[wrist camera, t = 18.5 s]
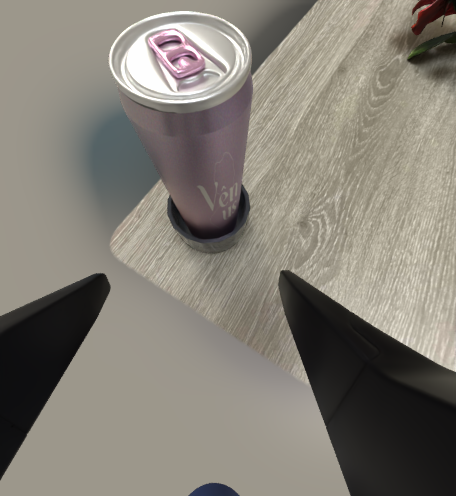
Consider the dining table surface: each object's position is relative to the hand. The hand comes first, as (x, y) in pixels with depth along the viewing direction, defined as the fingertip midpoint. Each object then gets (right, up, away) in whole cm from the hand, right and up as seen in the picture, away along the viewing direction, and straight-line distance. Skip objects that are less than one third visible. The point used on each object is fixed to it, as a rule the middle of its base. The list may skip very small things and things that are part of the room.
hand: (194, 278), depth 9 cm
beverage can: (0, +5, +12) cm, 13 cm away
